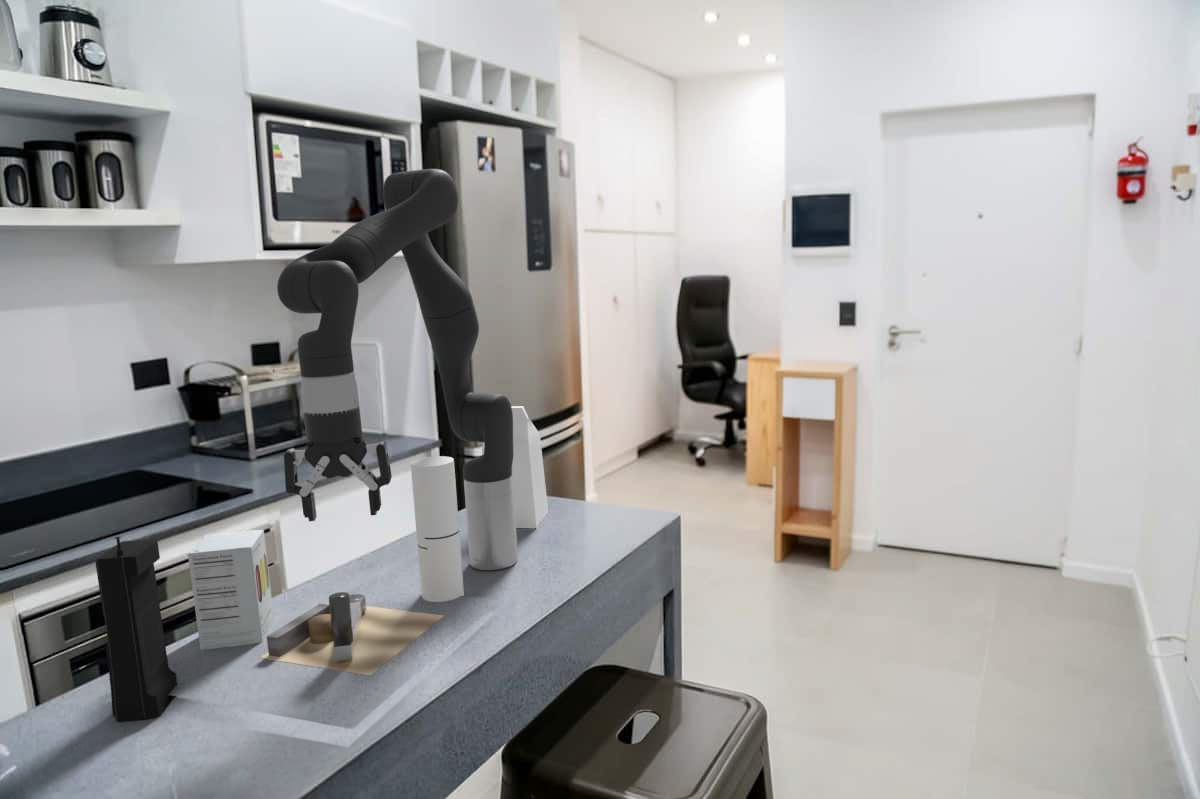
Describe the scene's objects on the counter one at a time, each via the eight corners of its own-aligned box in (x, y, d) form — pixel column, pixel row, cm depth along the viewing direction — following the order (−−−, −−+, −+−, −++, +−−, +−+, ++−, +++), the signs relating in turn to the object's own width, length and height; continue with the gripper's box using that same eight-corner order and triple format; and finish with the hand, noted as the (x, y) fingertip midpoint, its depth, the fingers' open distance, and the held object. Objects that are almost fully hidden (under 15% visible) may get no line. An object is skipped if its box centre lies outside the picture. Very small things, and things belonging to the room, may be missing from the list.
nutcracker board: (344, 611, 141) (342, 586, 140) (445, 624, 134) (442, 598, 133) (260, 667, 122) (256, 638, 121) (371, 685, 115) (368, 655, 115)
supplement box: (264, 651, 127) (251, 547, 124) (200, 659, 125) (185, 553, 123) (276, 625, 136) (264, 527, 134) (216, 632, 135) (204, 533, 132)
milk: (483, 528, 182) (475, 412, 177) (498, 512, 193) (491, 402, 188) (536, 529, 180) (529, 411, 175) (548, 512, 191) (542, 402, 186)
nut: (324, 630, 130) (322, 612, 130) (343, 634, 128) (341, 616, 128) (304, 641, 127) (302, 622, 126) (323, 645, 125) (321, 626, 124)
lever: (344, 608, 137) (339, 555, 136) (367, 605, 138) (362, 552, 136) (330, 662, 119) (324, 601, 117) (356, 658, 119) (350, 598, 118)
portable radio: (138, 692, 116) (112, 522, 112) (182, 688, 117) (158, 519, 113) (110, 723, 109) (82, 541, 104) (158, 719, 109) (131, 538, 105)
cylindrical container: (455, 611, 139) (444, 466, 135) (415, 609, 140) (403, 466, 136) (470, 593, 146) (460, 456, 142) (432, 592, 147) (421, 456, 143)
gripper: (386, 397, 120) (396, 504, 123) (284, 404, 118) (297, 513, 121) (380, 406, 113) (391, 520, 116) (271, 414, 111) (286, 530, 114)
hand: (343, 516), depth 118 cm, fingers open, 8 cm apart
